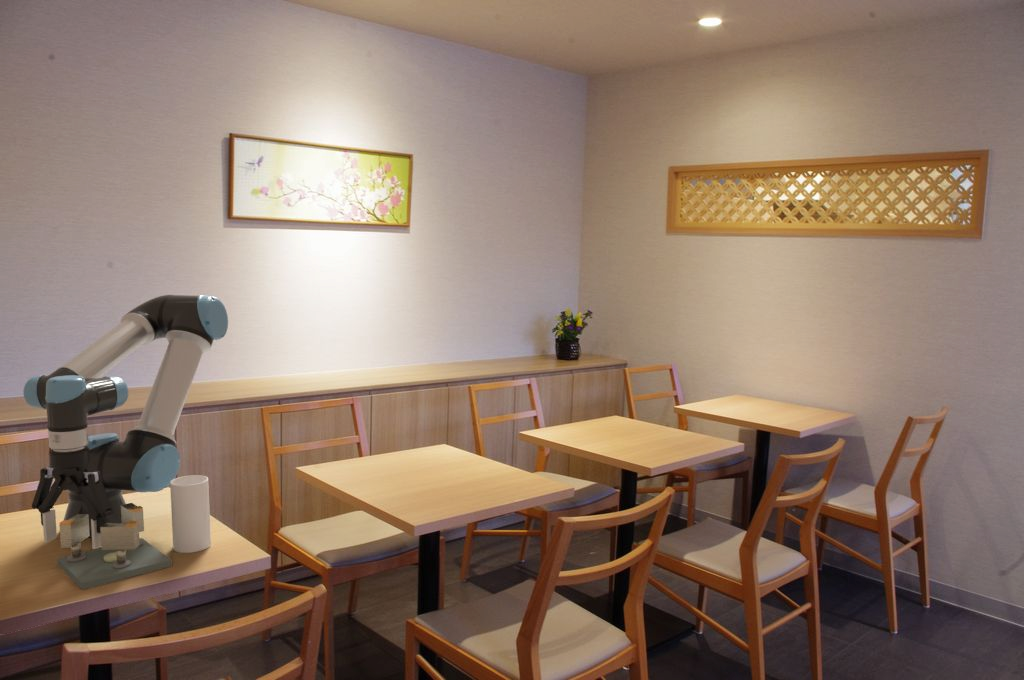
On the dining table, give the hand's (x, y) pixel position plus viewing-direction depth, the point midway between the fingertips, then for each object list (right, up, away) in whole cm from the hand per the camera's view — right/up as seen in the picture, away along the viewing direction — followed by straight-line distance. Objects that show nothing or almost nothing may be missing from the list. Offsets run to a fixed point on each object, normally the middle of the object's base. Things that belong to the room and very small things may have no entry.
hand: (74, 543), depth 174 cm
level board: (+9, -5, +1) cm, 10 cm away
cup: (+21, -4, +12) cm, 25 cm away
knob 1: (+12, -4, -3) cm, 13 cm away
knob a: (0, -4, 0) cm, 4 cm away
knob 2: (+9, -3, +8) cm, 13 cm away
